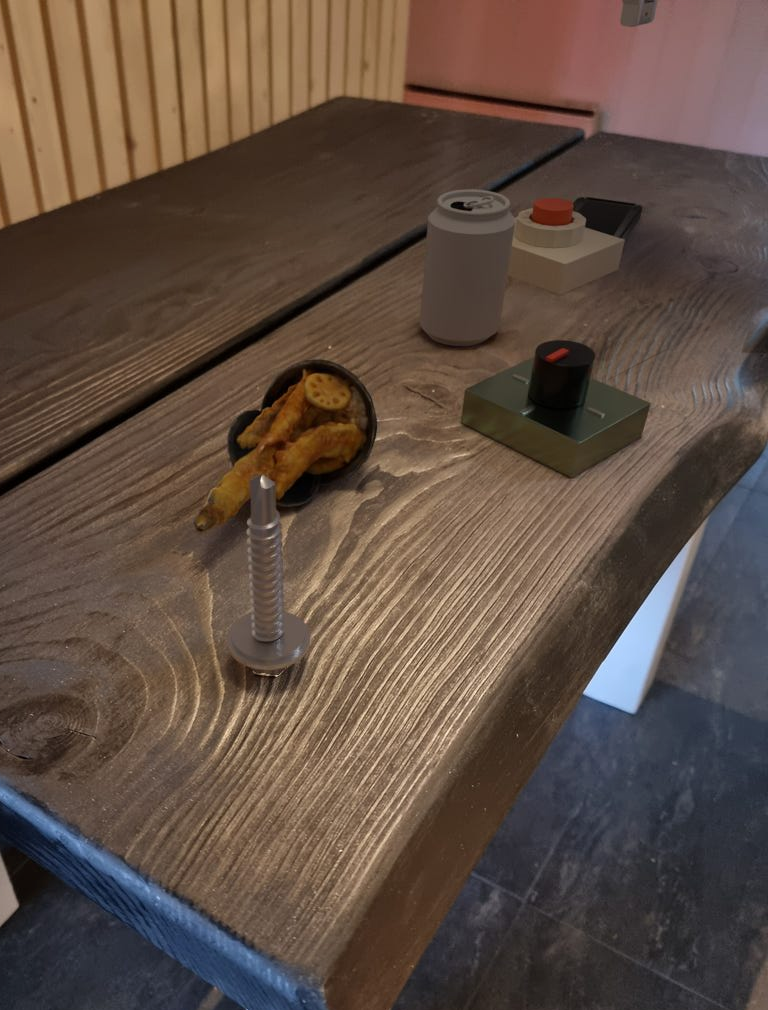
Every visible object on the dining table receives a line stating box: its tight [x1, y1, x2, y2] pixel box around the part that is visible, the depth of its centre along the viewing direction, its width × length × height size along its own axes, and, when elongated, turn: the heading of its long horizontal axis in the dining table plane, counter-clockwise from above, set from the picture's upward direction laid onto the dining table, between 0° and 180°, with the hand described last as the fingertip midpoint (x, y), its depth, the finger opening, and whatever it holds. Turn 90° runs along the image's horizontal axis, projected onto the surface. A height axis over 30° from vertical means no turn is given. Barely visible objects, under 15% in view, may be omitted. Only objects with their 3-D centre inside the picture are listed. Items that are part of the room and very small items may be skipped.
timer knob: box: [528, 339, 596, 409], centre depth 71 cm, size 4×4×4 cm
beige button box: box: [507, 207, 626, 296], centre depth 97 cm, size 12×10×5 cm
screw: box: [225, 474, 311, 675], centre depth 50 cm, size 13×5×5 cm
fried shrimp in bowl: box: [193, 359, 378, 536], centre depth 64 cm, size 9×11×18 cm
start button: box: [531, 197, 574, 226], centre depth 95 cm, size 4×4×2 cm
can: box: [419, 189, 515, 347], centre depth 83 cm, size 8×8×12 cm
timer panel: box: [460, 356, 652, 479], centre depth 73 cm, size 11×9×3 cm
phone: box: [572, 196, 643, 241], centre depth 106 cm, size 8×1×15 cm
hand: (636, 24), depth 88 cm, fingers closed
